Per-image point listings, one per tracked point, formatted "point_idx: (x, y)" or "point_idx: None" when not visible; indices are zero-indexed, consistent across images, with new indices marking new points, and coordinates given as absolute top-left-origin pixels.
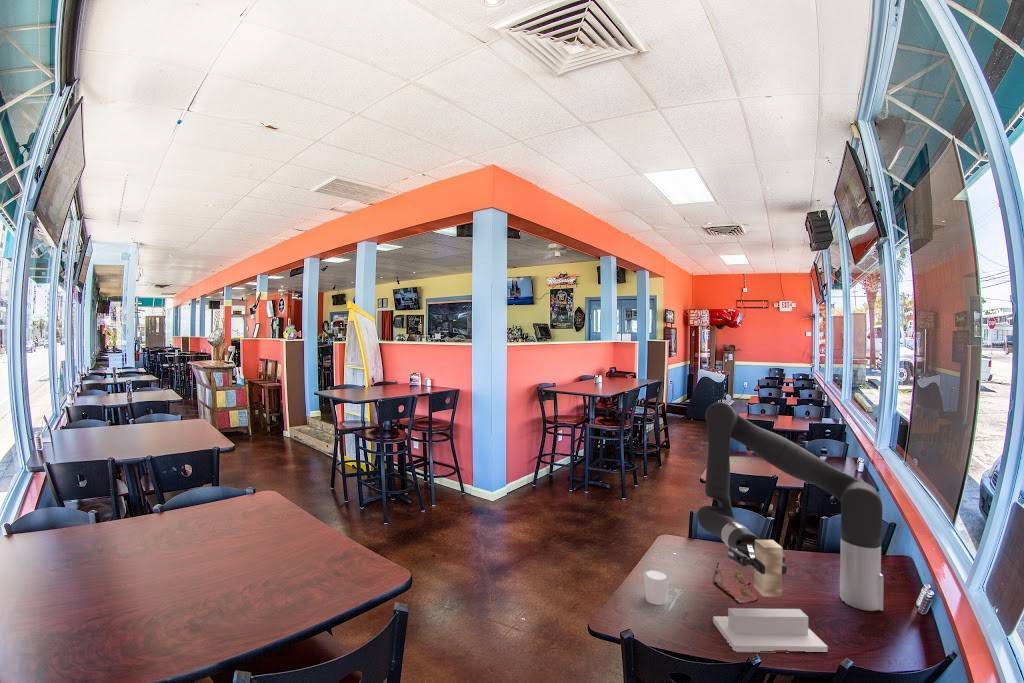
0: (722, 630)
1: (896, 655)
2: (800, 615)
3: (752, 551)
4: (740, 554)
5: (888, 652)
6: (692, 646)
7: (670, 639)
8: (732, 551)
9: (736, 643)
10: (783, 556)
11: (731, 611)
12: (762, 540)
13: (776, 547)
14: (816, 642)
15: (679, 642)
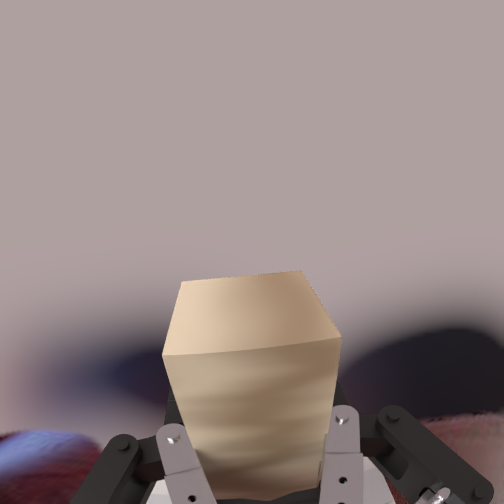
0: (393, 500)
1: (30, 454)
2: (160, 500)
3: (335, 460)
4: (417, 424)
5: (33, 463)
6: (447, 442)
7: (485, 442)
8: (463, 468)
9: (366, 458)
10: (118, 442)
11: (385, 486)
12: (273, 335)
13: (221, 278)
14: (157, 488)
15: (470, 442)
